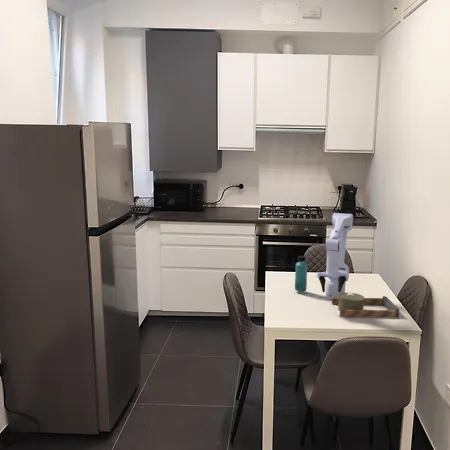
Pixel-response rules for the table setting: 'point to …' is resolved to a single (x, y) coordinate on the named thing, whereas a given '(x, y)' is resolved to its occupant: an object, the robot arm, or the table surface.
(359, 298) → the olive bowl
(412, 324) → the table surface
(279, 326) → the table surface
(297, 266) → the beverage bottle
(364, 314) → the bay
